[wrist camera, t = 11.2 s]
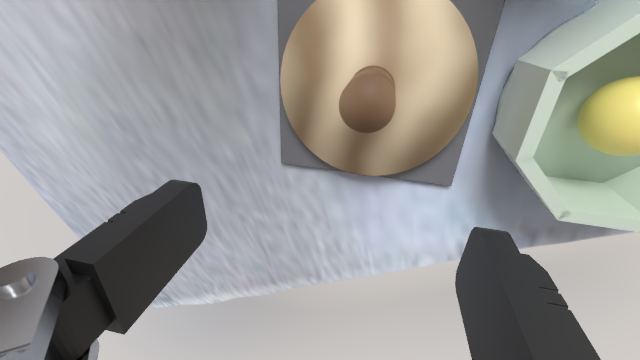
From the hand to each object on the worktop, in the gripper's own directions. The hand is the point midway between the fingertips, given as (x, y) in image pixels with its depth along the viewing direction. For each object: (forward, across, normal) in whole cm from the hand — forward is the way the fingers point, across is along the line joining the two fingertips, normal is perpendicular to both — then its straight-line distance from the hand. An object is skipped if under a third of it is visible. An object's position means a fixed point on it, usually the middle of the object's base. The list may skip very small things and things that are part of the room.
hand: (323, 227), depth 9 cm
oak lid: (+22, 0, 0) cm, 22 cm away
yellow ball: (+21, -19, 0) cm, 28 cm away
